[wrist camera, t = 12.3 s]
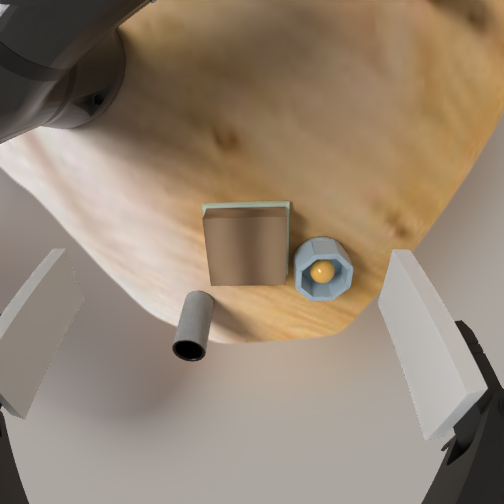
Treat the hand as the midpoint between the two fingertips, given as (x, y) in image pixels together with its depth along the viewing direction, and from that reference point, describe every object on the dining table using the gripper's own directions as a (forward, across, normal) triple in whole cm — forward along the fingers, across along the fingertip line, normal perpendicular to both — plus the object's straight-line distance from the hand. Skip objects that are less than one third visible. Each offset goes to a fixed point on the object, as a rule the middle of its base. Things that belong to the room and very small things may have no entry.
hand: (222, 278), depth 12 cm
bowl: (+27, +10, -18) cm, 34 cm away
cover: (+27, 0, -15) cm, 31 cm away
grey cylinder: (+28, -8, -26) cm, 39 cm away
